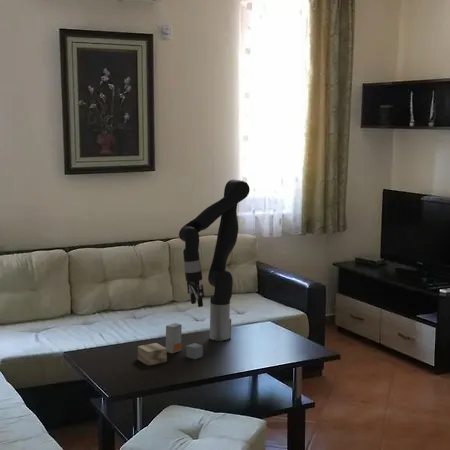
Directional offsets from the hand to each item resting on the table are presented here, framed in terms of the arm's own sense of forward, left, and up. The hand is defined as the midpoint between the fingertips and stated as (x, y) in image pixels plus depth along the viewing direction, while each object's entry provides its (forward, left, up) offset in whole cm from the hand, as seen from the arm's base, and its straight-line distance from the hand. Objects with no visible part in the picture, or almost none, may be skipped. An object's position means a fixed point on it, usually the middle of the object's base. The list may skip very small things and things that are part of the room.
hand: (197, 305), depth 314 cm
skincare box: (+14, +4, -18) cm, 24 cm away
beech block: (+28, +10, -18) cm, 35 cm away
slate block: (+10, +15, -18) cm, 26 cm away
